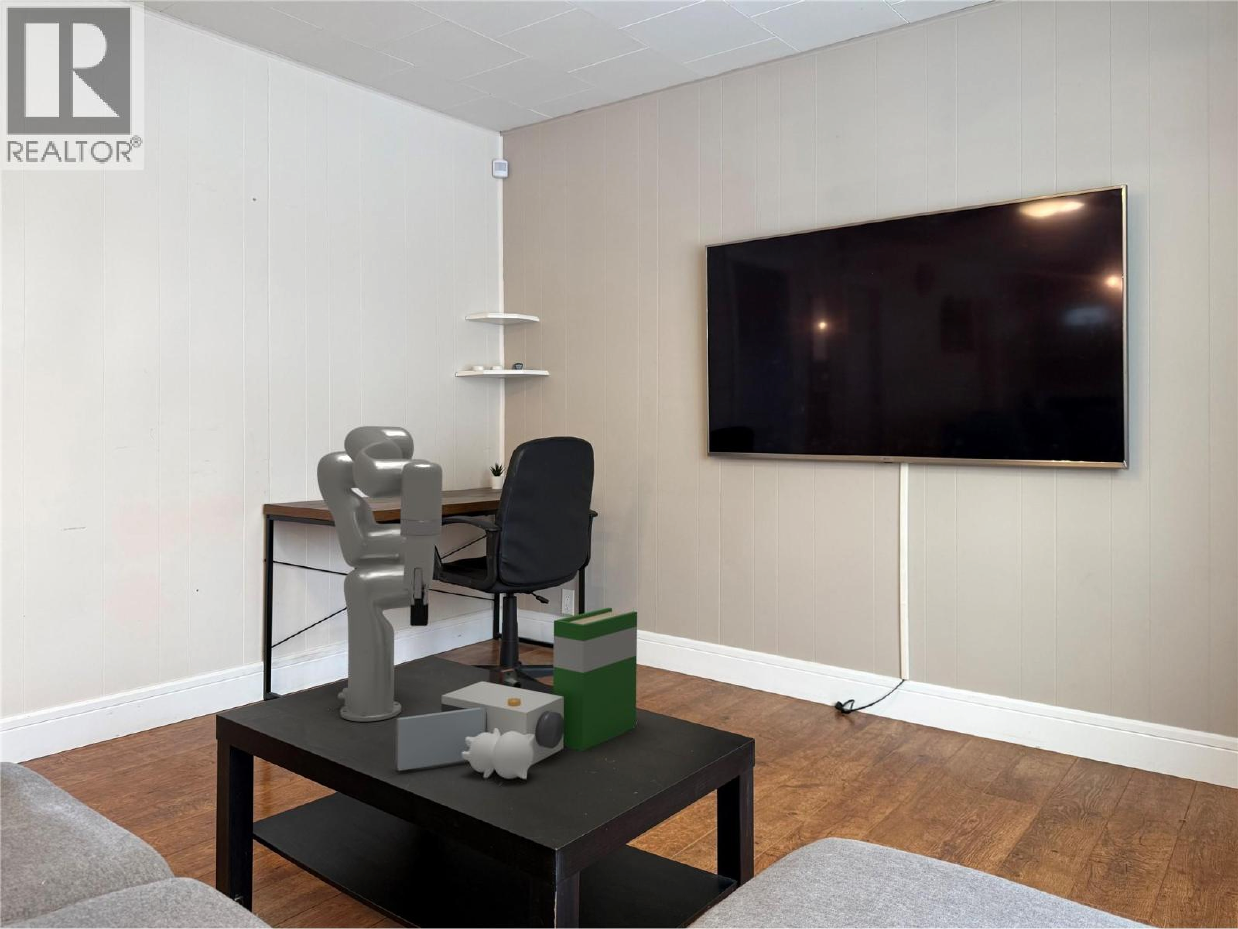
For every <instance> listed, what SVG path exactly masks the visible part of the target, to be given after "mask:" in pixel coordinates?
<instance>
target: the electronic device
mask: <svg viewBox="0 0 1238 929" xmlns="http://www.w3.org/2000/svg"><path fill="white" fill-rule="evenodd" d="M488 673H489V675H488V683H493V684H499V685H504V686H509V687H515V688H520V689H522V683H521V682H519V681H518V678H517V674H516V670H515V669H513V668H502V667H500V668H499V667H497V668H494V669H493V668H492V669H489V671H488Z"/></svg>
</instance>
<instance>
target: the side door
mask: <svg viewBox="0 0 1238 929" xmlns="http://www.w3.org/2000/svg"><path fill="white" fill-rule="evenodd" d="M484 732H486V707H479V708H472V709H464V710H456V711H449V712H436V713H427V714H420V715H412V716H404V717H397V718H395V764H396V766H397V770H398V772H400V771H406V770H412V769H418V768H425V767H431V766H437V765H442V764H443V765H444V764H450V763H456V762H462V761H467V760H466V759H464V758H462V752H464V751H469V748H470V747H469V746H468V745H467V744H466V743H465V739H466V737H476V736H477V735H479V734H481V733H484Z"/></svg>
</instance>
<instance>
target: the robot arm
mask: <svg viewBox="0 0 1238 929" xmlns="http://www.w3.org/2000/svg"><path fill="white" fill-rule="evenodd" d="M343 447H344V450H343V451H342V450H339V451H333V452H330V453H327V454H325V455H323V456H322V457H321V458H320V459H319V460H318V464H317V468H316V477H317V484H318V489H319V492H320V495H321V498H322V499H323V502H324V503H325V505H326V507H327V510H329V512H330V514H331V517H332V518H333V521H334V525H335V530H336V535H337V537H338V543H339V546H340V551H341V554H342V557H343V559H344V560H343V561H345V563H346V564H347V565H348V566H349V567H351V568H355V569H352V570H351V571H349V572H348V573H347V575H346V576H345V577H344V581H343V593H344V601H345V606H346V612H347V613H346V614H347V629H348V630H347V634H348V636H347V642H348V643H347V644H348V645H347V647H348V648H347V649H348V650H347V652H348V653H347V672H348V673H347V687H344V688H343V689H342V691H341V692H338V694H337V698H338V699H339V700H344V705H343V706H342V707H341V708H340V712H339V715H340V717H341V718H343V719H344V720H348V721H351V722H360V723H361V722H362V723H363V722H367V723H368V722H376V721H378V722H379V721H382V720H388V719H391V718H394V717H396V716H399V715H400V714H401V712H402V705H401V704H400V703H399V702H398V701H395V630H394V627H393V625H392V623H391V622H390V620H388V619H387V618H386V616H385V614H384V613H383V612H384V611H387V610H393V609H394V610H395V609H404V608H406V609H407V608H410V609H409V610H410V615H409V617H410V619H409V620H410V621H409V625H410V626H412V627H426V626H428V625H429V603H430V602H429V603H428V601H429V600H428V599H429V596H428V594H429V590H430V589H431V586H432V584H433V577H434V571H435V570H434V567H435V550H436V549H435V547H436V546H435V544H436V539H435V538H440V537H442V524H443V523H442V518H443V517H442V515H443V514H442V512H443V511H442V510H443V503H442V502H443V468H442V466H441V465H440V464H439V463H436V462H430V461H429V460H427V459H421V458H420V459H419V458H418V459H417V458H413V456H414V450H415V443H414V439H413V437H412V435H411V433H410V432H409V431H408V430H407V429H405V428H404V427H402V426H401V427H400V426H384V425H383V426H378V425H377V426H375V425H373V426H372V425H370V426H369V425H363V426H358V427H356V428H354V429H352V430H350V431H348V433H347V434H346V436H345V438H344V442H343ZM353 489H358V490H359V491H360V492H361V493H362V494H364V495H365V496H367V497H369V498H372V499H400V523H378V522H376V520H375V516H374V512H373V509H372V507H371V506H370V504H369V503H368V502H367V501H366V499H364V497H362V496H361V495H359V494H358V493H357V492H355V491H354V490H353Z"/></svg>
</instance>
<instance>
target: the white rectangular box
mask: <svg viewBox="0 0 1238 929" xmlns="http://www.w3.org/2000/svg"><path fill="white" fill-rule="evenodd" d="M488 682H489V681H488ZM488 682H487V681H478V682H476V683H473V684H470V685H468V686H464V687H462V688H460V689H457V690H454V691H451V692H447V693H445V694H442V695H441V706H440V707H441V708H440V710H441V712H449V711H456V710H464V709H472V708H479V707H486V732H487V733H491V734H493V732H494V729H495V728H497V729H498V730H499V732H500V736H501V735H503V734H504V733H506V732H510V731H515V732H519V733H521V734H522V735H527V734H534V735H535V738H534V741H533V745H532V748H533V760H532V763H531V765H530V767H532V766H533V765H534V764H536V763H538V762H541V761H542V760H545V759H546V758H548V757H550V756H552V755H554V754H555V753H558V752H559V751H561V749H562V750H563V749H564V746H563V731H564V697H563V696H557V695H553V693H552V694H550V693H547V692H546V693H545V692H542V691H541V692H540V691H535V690H530V689H524V688H515V687H509V686H504V685H499V684H493V683H488ZM441 712H440V713H441Z"/></svg>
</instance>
